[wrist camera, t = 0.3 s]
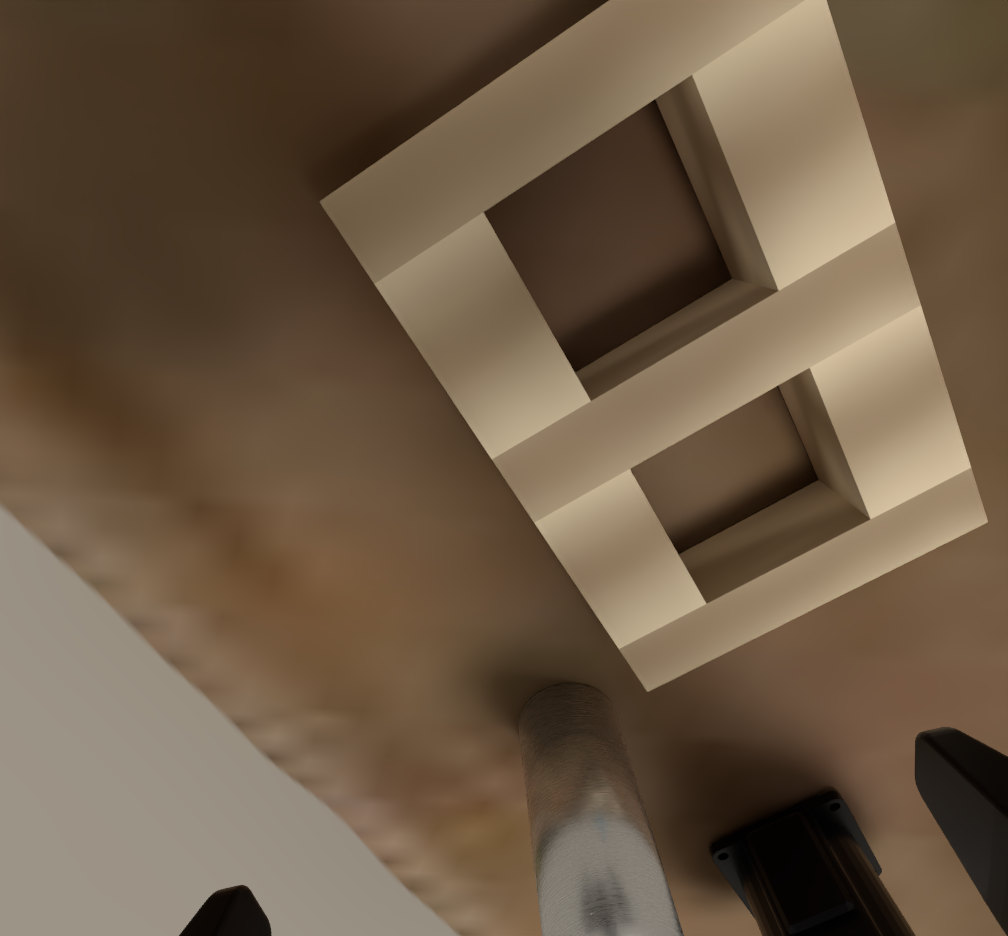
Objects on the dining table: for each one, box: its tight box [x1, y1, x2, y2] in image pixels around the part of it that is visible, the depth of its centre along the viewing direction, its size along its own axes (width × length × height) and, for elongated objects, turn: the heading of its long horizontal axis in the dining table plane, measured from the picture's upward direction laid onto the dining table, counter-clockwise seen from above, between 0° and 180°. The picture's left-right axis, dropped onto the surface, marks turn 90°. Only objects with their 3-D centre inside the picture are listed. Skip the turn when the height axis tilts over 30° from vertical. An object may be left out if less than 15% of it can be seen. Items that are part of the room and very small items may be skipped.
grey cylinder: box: [518, 683, 684, 936], centre depth 21 cm, size 4×4×9 cm
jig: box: [319, 0, 988, 692], centre depth 18 cm, size 18×12×3 cm, turn 31°
